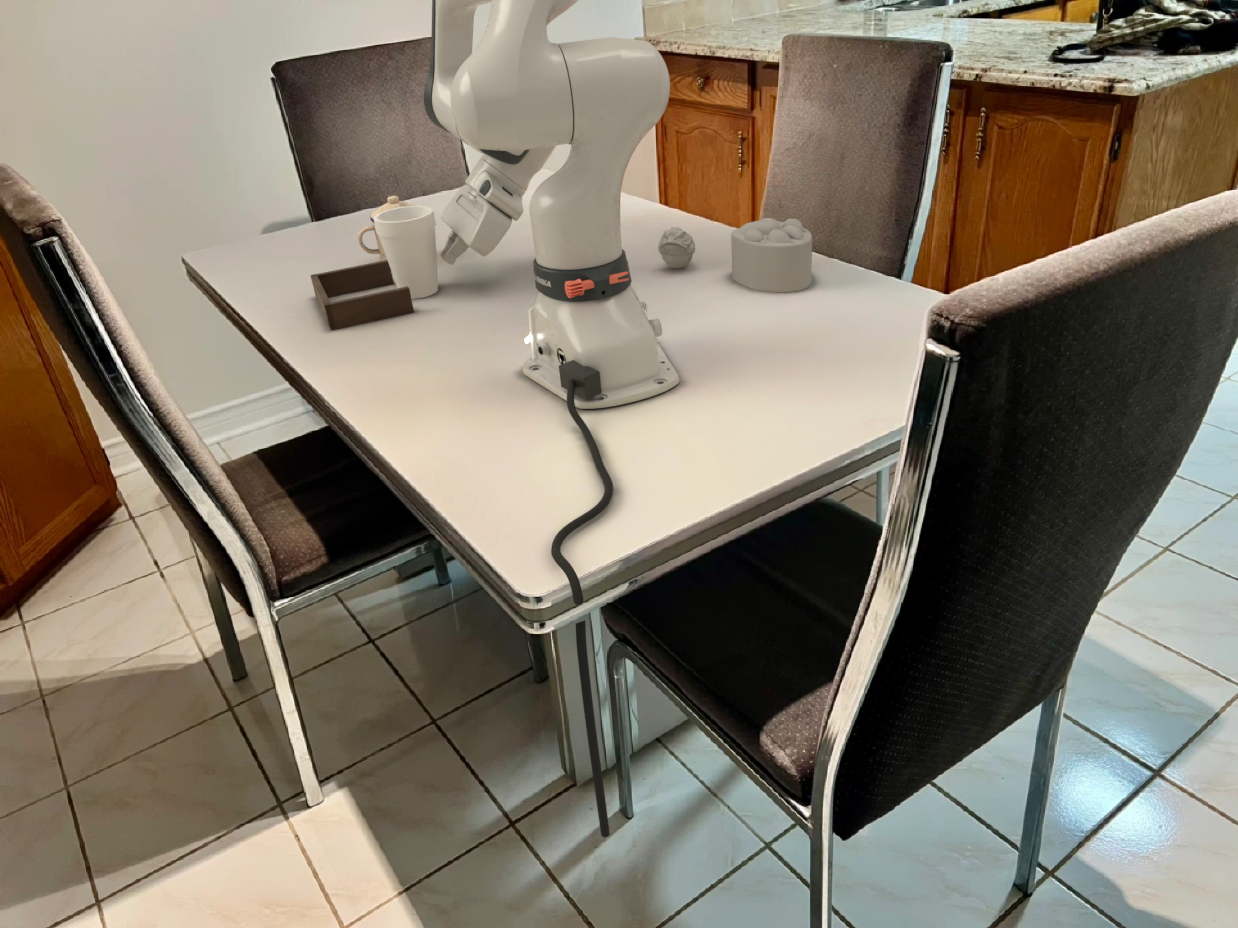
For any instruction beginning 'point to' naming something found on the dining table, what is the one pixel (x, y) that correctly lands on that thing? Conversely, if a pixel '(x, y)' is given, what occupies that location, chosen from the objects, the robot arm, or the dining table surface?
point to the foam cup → (410, 247)
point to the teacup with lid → (392, 203)
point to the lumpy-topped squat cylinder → (772, 255)
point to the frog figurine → (676, 247)
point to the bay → (362, 306)
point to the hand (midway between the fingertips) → (445, 260)
